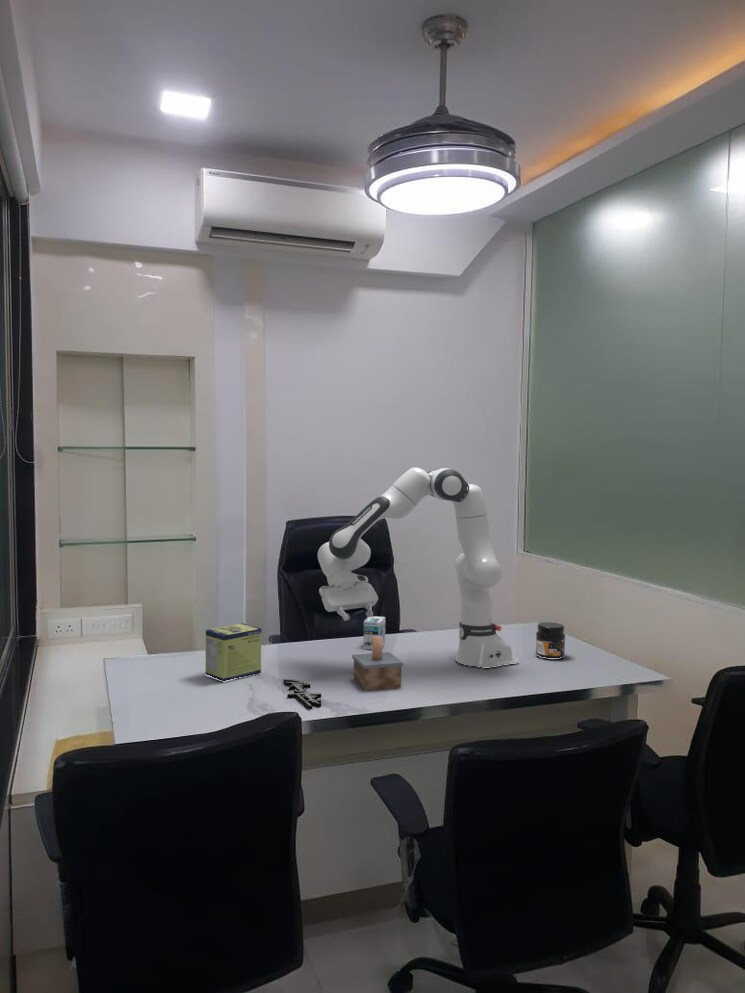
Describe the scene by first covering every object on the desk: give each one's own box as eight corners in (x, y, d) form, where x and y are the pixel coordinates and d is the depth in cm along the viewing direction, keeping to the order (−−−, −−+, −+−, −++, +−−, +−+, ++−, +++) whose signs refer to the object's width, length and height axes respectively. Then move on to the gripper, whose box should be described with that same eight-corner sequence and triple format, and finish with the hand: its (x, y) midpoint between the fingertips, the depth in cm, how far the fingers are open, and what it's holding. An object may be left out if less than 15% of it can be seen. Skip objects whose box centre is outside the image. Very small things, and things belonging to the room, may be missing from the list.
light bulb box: (380, 650, 284) (380, 622, 283) (362, 649, 285) (363, 621, 285) (385, 643, 294) (386, 616, 294) (368, 642, 296) (369, 615, 295)
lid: (389, 659, 252) (389, 631, 251) (403, 670, 239) (403, 640, 239) (352, 662, 248) (352, 633, 247) (364, 673, 235) (364, 643, 235)
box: (388, 676, 251) (388, 655, 251) (400, 687, 240) (401, 665, 240) (353, 679, 248) (354, 658, 247) (364, 690, 236) (365, 668, 236)
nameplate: (272, 680, 241) (301, 677, 245) (272, 685, 241) (301, 681, 245) (301, 707, 216) (333, 702, 220) (301, 712, 216) (333, 708, 221)
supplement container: (535, 659, 275) (535, 627, 274) (535, 652, 285) (536, 620, 285) (564, 661, 273) (565, 629, 272) (564, 654, 283) (565, 622, 282)
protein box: (261, 673, 252) (262, 627, 251) (223, 683, 241) (223, 635, 240) (242, 667, 259) (243, 622, 258) (204, 676, 248) (204, 629, 247)
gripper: (320, 581, 250) (336, 616, 243) (370, 576, 262) (387, 609, 255) (313, 592, 254) (329, 627, 247) (363, 587, 266) (379, 619, 259)
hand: (359, 617), depth 251 cm, fingers open, 8 cm apart
